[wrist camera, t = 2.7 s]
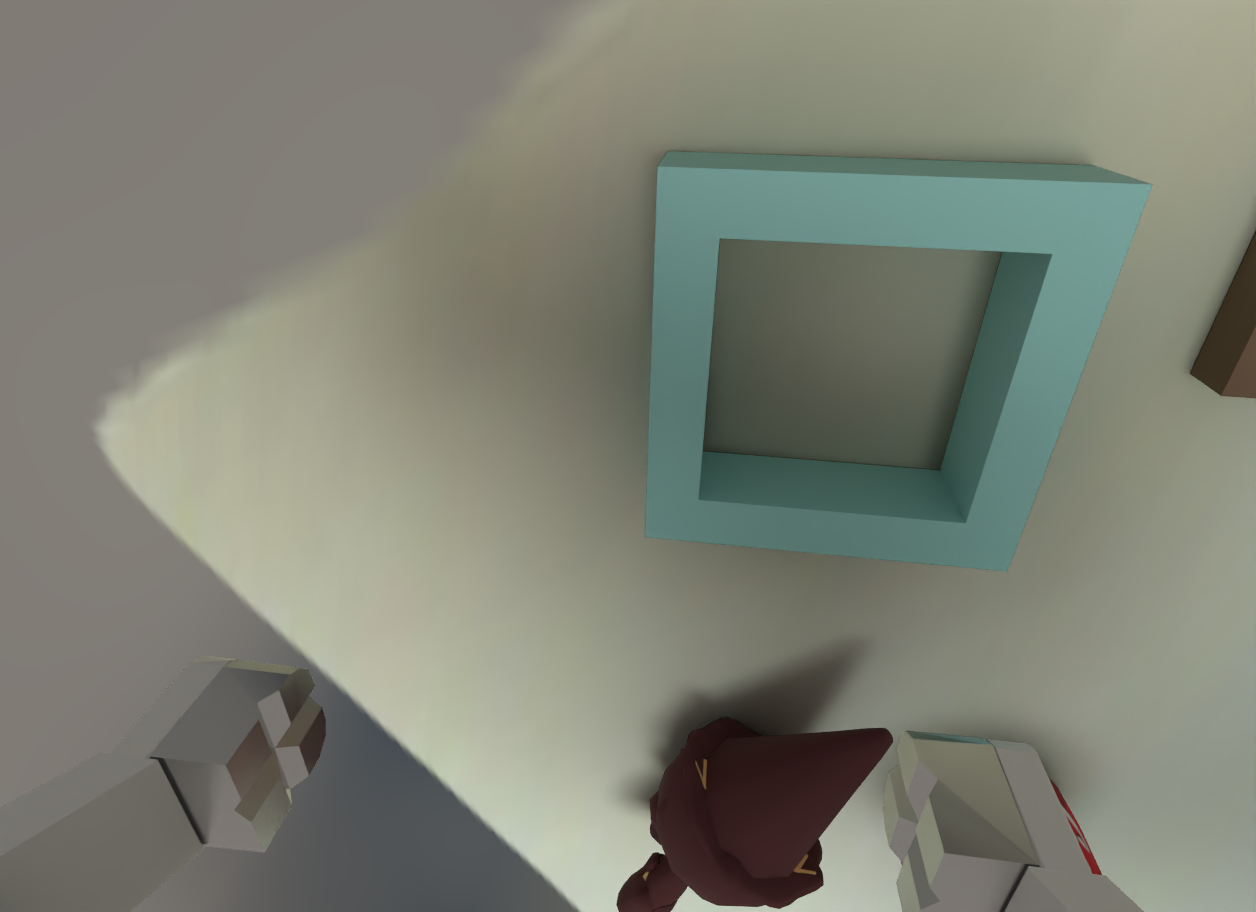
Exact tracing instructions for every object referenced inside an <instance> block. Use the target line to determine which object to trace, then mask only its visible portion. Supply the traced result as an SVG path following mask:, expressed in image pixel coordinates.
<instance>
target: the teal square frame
mask: <svg viewBox="0 0 1256 912" xmlns="http://www.w3.org/2000/svg"><path fill="white" fill-rule="evenodd" d="M1152 185H1153V184H1149V183H1146V182H1143V181H1140V180H1137V179H1134V178H1131V177H1128V176H1124V175H1121V174H1118V173H1115V172H1112V171H1109V170H1106V169H1103V168H1099V167H1096V166H1093V165H1065V164H1036V163H1006V162H976V161H947V160H917V159H887V158H858V157H828V156H799V155H769V154H739V153H710V152H680V151H668V152H667V154H666V155H665V157H664V158H663V159H662V161H661V162H660V164H659V165H658V170H657V199H656V228H655V257H654V286H653V315H652V344H651V373H650V402H649V431H648V460H647V489H646V517H645V537H648V538H658V539H669V540H680V541H690V542H701V543H711V544H722V545H732V546H743V547H753V548H764V549H775V550H785V551H796V552H806V553H817V554H827V555H838V556H848V557H859V558H870V559H880V560H891V561H901V562H912V563H922V564H933V565H944V566H954V567H965V568H975V569H986V570H996V571H1008V568H1009V566H1010V563H1011V560H1012V558H1013V555H1014V552H1015V550H1016V547H1017V544H1018V542H1019V539H1020V536H1021V534H1022V531H1023V528H1024V526H1025V523H1026V520H1027V518H1028V515H1029V512H1030V510H1031V507H1032V504H1033V502H1034V499H1035V496H1036V494H1037V491H1038V488H1039V486H1040V483H1041V480H1042V478H1043V475H1044V472H1045V470H1046V467H1047V464H1048V462H1049V459H1050V457H1051V454H1052V451H1053V449H1054V446H1055V443H1056V441H1057V438H1058V435H1059V433H1060V430H1061V427H1062V425H1063V422H1064V419H1065V417H1066V414H1067V411H1068V409H1069V406H1070V403H1071V401H1072V398H1073V395H1074V393H1075V390H1076V387H1077V385H1078V382H1079V379H1080V377H1081V374H1082V371H1083V369H1084V366H1085V363H1086V361H1087V358H1088V355H1089V353H1090V350H1091V347H1092V345H1093V342H1094V339H1095V337H1096V334H1097V331H1098V329H1099V326H1100V323H1101V321H1102V318H1103V315H1104V313H1105V310H1106V307H1107V305H1108V302H1109V299H1110V297H1111V294H1112V291H1113V289H1114V286H1115V283H1116V281H1117V278H1118V275H1119V273H1120V270H1121V267H1122V265H1123V262H1124V259H1125V257H1126V254H1127V251H1128V249H1129V246H1130V243H1131V241H1132V238H1133V235H1134V233H1135V230H1136V227H1137V225H1138V222H1139V219H1140V217H1141V214H1142V211H1143V209H1144V206H1145V203H1146V201H1147V198H1148V195H1149V193H1150V190H1151V187H1152ZM720 238H724V239H745V240H767V241H788V242H809V243H830V244H852V245H873V246H894V247H915V248H937V249H958V250H979V251H1001V252H1002V255H1001V259H1000V262H999V266H998V269H997V273H996V276H995V280H994V283H993V287H992V290H991V294H990V297H989V301H988V304H987V308H986V311H985V315H984V318H983V322H982V325H981V329H980V332H979V336H978V339H977V343H976V346H975V350H974V353H973V357H972V360H971V364H970V367H969V371H968V374H967V378H966V381H965V385H964V388H963V392H962V395H961V399H960V402H959V406H958V409H957V413H956V416H955V420H954V423H953V427H952V430H951V434H950V437H949V441H948V445H947V448H946V452H945V455H944V459H943V462H942V466H941V469H940V470H929V469H916V468H904V467H891V466H879V465H867V464H854V463H842V462H829V461H817V460H804V459H792V458H780V457H767V456H755V455H742V454H730V453H717V452H705V451H703V441H704V429H705V416H706V404H707V391H708V379H709V367H710V354H711V342H712V330H713V317H714V305H715V292H716V280H717V268H718V255H719V243H720Z"/></svg>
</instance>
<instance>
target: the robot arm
mask: <svg viewBox="0 0 1256 912" xmlns="http://www.w3.org/2000/svg"><path fill="white" fill-rule="evenodd" d="M314 687H315V684H314V681H313V679H312V676H311V673H310V671H309V669H303V668H296V667H289V666H282V665H274V664H266V663H259V662H251V661H244V660H237V659H228V658H219V657H210V656H202V657H200V658H198V659H196V660H194V661H193V662H191V663H189V665H188V666H187V667H186V668H185V669H184V670H183V672H181V673H180V675H179V676H178V677H177V678H176V679H175V680H174V681H173V683H172V684H171V685H170V686H169V687H168V688H167V689H166V691H165V692H164V693H163V694H162V695H161V696H160V697H159V699H157V701H156V702H155V703H154V704H153V705H152V706H151V707H150V709H149V710H148V711H147V712H146V713H145V714H144V715H143V716H142V717H141V719H140V720H139V721H138V722H137V723H136V724H135V725H134V727H133V728H132V729H131V730H130V731H129V732H128V733H127V734H126V736H125V737H124V738H123V739H122V740H121V741H120V742H119V743H118V745H117V746H116V747H115V748H114V749H113V750H112V752H111V753H97V754H96V755H94V756H92V757H90V758H89V759H87V760H85V761H83V762H81V763H79V764H77V765H76V766H74V767H72V768H70V769H69V770H67V771H65V772H63V773H61V774H59V775H58V776H56V777H54V778H52V779H51V780H49V781H47V782H45V783H43V784H41V785H40V786H38V787H36V788H34V789H32V790H31V791H29V792H27V793H25V794H24V795H22V796H20V797H18V798H16V799H14V800H13V801H11V802H9V803H7V804H6V805H4V806H2V807H0V912H130V911H131V910H132V909H133V908H134V907H136V906H137V905H138V904H139V903H141V902H142V901H143V900H144V899H145V898H147V897H148V896H149V895H150V894H152V893H153V892H154V891H155V890H156V889H158V888H159V887H160V886H161V885H162V884H163V883H165V882H166V881H167V880H168V879H170V878H171V877H172V876H173V875H175V874H176V873H177V872H178V871H179V870H180V869H182V868H183V867H184V866H185V865H187V864H188V863H189V862H190V861H191V860H193V859H194V858H195V857H196V856H197V855H199V854H200V853H201V852H202V851H203V850H204V848H203V846H207V847H216V848H226V849H236V850H245V851H255V852H265V851H266V849H267V847H268V845H269V844H270V842H271V840H272V839H273V837H274V835H275V833H276V832H277V830H278V828H279V826H280V825H281V823H282V821H283V820H284V818H285V816H286V815H287V813H288V811H289V809H290V808H291V806H292V803H291V795H290V789H291V788H292V787H294V786H295V785H297V784H298V783H299V782H301V781H302V780H304V779H305V778H306V777H308V776H309V775H310V773H311V771H312V769H313V767H314V766H315V764H316V762H317V760H318V758H319V757H320V753H321V749H322V746H323V742H324V739H325V736H326V734H325V733H326V719H325V716H324V713H323V709H322V707H321V706H320V705H318V704H317V703H316V702H315V701H314V700H313V699H312V698H311V697H309V695H310V693H311V692H312V690H313V689H314ZM896 751H897V755H898V760H899V765H898V766H896V767H895V768H893V769H891V770H890V771H889V773H888V777H887V781H886V784H885V789H884V819H885V828H886V833H887V838H888V843H889V847H890V848H891V849H892V851H893V852H894V853H895V854H896V855H897V857H898V858H899V859H900V860H901V861H902V862H903V865H902V868H901V871H900V874H899V877H898V880H897V882H896V883H897V887H898V892H899V897H900V901H901V906H902V911H903V912H1144V911H1143V910H1142V909H1141V908H1139V907H1138V906H1137V905H1136V904H1135V903H1134V902H1133V901H1132V900H1131V899H1130V898H1129V897H1128V896H1127V895H1126V894H1125V893H1124V892H1122V891H1121V890H1120V889H1119V888H1118V887H1117V886H1116V885H1115V884H1114V883H1113V882H1112V881H1111V880H1110V879H1109V878H1108V877H1107V876H1103V875H1097V874H1092V872H1091V870H1090V868H1089V866H1088V863H1087V861H1086V859H1085V857H1084V855H1083V852H1082V850H1081V848H1080V846H1079V844H1078V841H1077V839H1076V837H1075V835H1074V833H1073V830H1072V828H1071V826H1070V824H1069V822H1068V819H1067V817H1066V815H1065V813H1064V811H1063V808H1062V806H1061V804H1060V802H1059V800H1058V797H1057V795H1056V793H1055V791H1054V789H1053V786H1052V784H1051V782H1050V780H1049V778H1048V775H1047V773H1046V771H1045V769H1044V767H1043V764H1042V762H1041V760H1040V758H1039V756H1038V753H1037V751H1036V750H1035V749H1034V748H1033V747H1032V746H1031V745H1030V744H1028V743H1018V742H1009V741H1000V740H990V739H983V738H979V737H968V736H957V735H946V734H935V733H924V732H913V731H905V732H904V733H903V734H902V735H901V736H900V738H899V741H898V744H897V747H896Z"/></svg>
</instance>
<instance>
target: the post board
mask: <svg viewBox="0 0 1256 912" xmlns="http://www.w3.org/2000/svg"><path fill="white" fill-rule="evenodd" d="M1191 375H1193V376H1194V377H1195V378H1197V379H1198V380H1200V381H1201V382H1203V383H1204V384H1205V385H1207V386H1208V387H1210V388H1211V389H1212V390H1214V391H1215V392H1217V393H1218V394H1219V395H1221V396H1231V397H1246V398H1256V233H1255V235H1254V237H1253V240H1252V242H1251V244H1250V246H1249V248H1248V250H1247V253H1246V255H1245V257H1244V259H1243V261H1242V263H1241V266H1240V268H1239V270H1238V272H1237V274H1236V276H1235V279H1234V281H1233V283H1232V285H1231V287H1230V289H1229V292H1228V294H1227V296H1226V298H1225V300H1224V302H1223V305H1222V307H1221V309H1220V311H1219V313H1218V315H1217V318H1216V320H1215V322H1214V324H1213V326H1212V328H1211V331H1210V333H1209V335H1208V337H1207V339H1206V341H1205V344H1204V346H1203V348H1202V350H1201V352H1200V354H1199V357H1198V359H1197V361H1196V363H1195V365H1194V367H1193V370H1192V372H1191Z"/></svg>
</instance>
